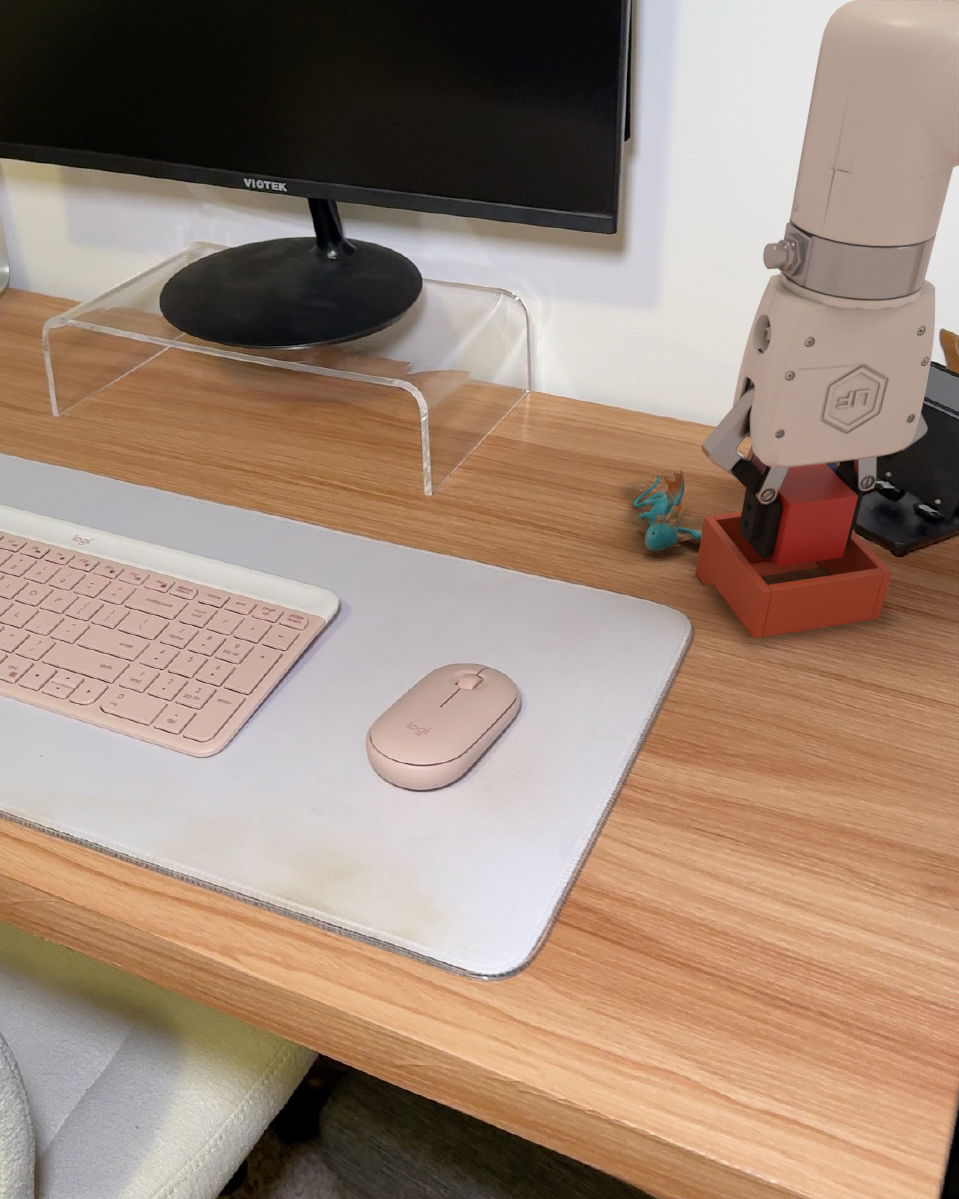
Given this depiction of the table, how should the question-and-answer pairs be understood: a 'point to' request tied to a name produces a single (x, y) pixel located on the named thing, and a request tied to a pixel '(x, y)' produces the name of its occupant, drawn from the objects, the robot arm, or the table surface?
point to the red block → (813, 516)
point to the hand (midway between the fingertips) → (794, 538)
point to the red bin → (789, 583)
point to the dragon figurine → (665, 516)
